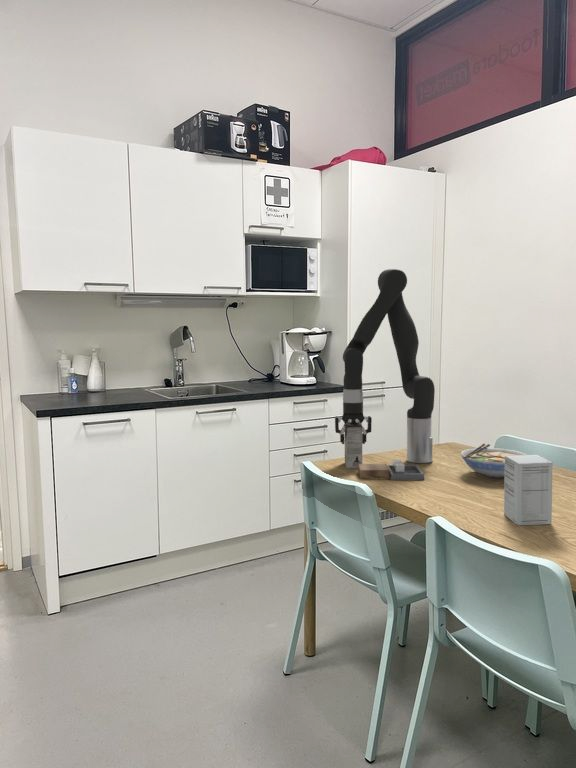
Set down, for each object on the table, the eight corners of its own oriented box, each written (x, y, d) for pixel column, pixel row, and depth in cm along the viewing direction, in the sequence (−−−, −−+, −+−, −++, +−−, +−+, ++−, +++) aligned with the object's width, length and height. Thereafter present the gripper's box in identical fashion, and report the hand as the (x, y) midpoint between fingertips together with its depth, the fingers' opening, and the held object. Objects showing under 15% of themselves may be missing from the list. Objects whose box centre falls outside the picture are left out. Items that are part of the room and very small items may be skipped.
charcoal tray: (416, 470, 209) (416, 464, 208) (424, 479, 196) (424, 474, 195) (386, 470, 209) (386, 465, 209) (391, 480, 196) (391, 474, 196)
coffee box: (344, 462, 222) (344, 421, 221) (360, 462, 222) (360, 421, 221) (345, 468, 213) (345, 425, 212) (363, 468, 213) (363, 425, 211)
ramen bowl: (517, 488, 183) (518, 463, 183) (449, 478, 197) (449, 455, 196) (537, 472, 203) (538, 449, 202) (474, 463, 217) (474, 442, 216)
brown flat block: (386, 471, 207) (386, 463, 207) (389, 478, 198) (389, 470, 198) (358, 472, 207) (358, 464, 207) (360, 478, 198) (360, 470, 198)
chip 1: (392, 470, 206) (400, 470, 206) (393, 473, 202) (402, 473, 202) (392, 459, 206) (400, 459, 206) (393, 462, 202) (402, 462, 202)
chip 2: (394, 474, 202) (402, 474, 202) (395, 477, 198) (404, 476, 198) (394, 462, 201) (402, 462, 201) (395, 465, 198) (404, 465, 197)
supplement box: (536, 513, 159) (538, 454, 158) (552, 524, 150) (554, 462, 149) (502, 514, 159) (503, 455, 157) (516, 525, 150) (518, 463, 148)
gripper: (371, 399, 219) (371, 441, 220) (333, 399, 219) (333, 441, 221) (373, 401, 211) (373, 445, 213) (334, 402, 212) (334, 446, 213)
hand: (353, 443), depth 217 cm, fingers open, 7 cm apart
